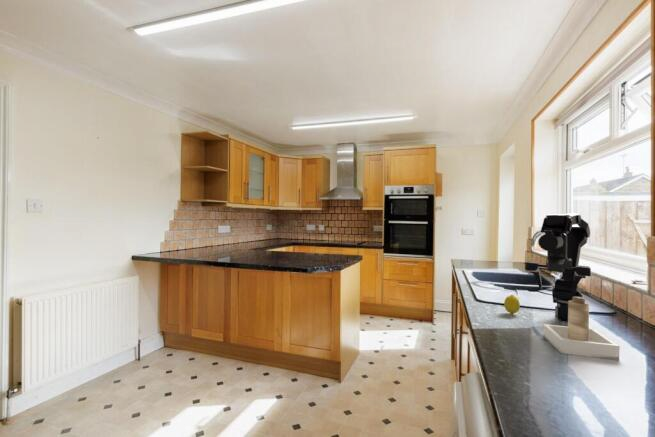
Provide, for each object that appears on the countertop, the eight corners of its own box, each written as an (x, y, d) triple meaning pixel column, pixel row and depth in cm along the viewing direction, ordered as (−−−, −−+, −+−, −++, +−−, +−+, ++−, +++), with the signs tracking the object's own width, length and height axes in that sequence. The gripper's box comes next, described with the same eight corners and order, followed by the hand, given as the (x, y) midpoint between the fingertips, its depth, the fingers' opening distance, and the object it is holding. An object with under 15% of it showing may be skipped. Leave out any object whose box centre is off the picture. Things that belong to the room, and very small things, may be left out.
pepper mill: (577, 340, 100) (578, 295, 99) (592, 347, 95) (593, 299, 94) (563, 341, 99) (564, 295, 99) (578, 348, 94) (578, 300, 94)
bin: (593, 341, 101) (593, 328, 101) (619, 360, 88) (619, 346, 88) (543, 335, 105) (543, 324, 105) (560, 353, 92) (560, 339, 92)
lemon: (522, 317, 125) (522, 297, 125) (506, 316, 126) (507, 296, 126) (516, 312, 131) (516, 293, 131) (502, 311, 132) (502, 293, 132)
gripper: (523, 248, 112) (522, 292, 112) (591, 253, 101) (590, 301, 101) (527, 246, 121) (527, 286, 121) (590, 250, 109) (589, 295, 109)
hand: (556, 292), depth 113 cm, fingers open, 9 cm apart
